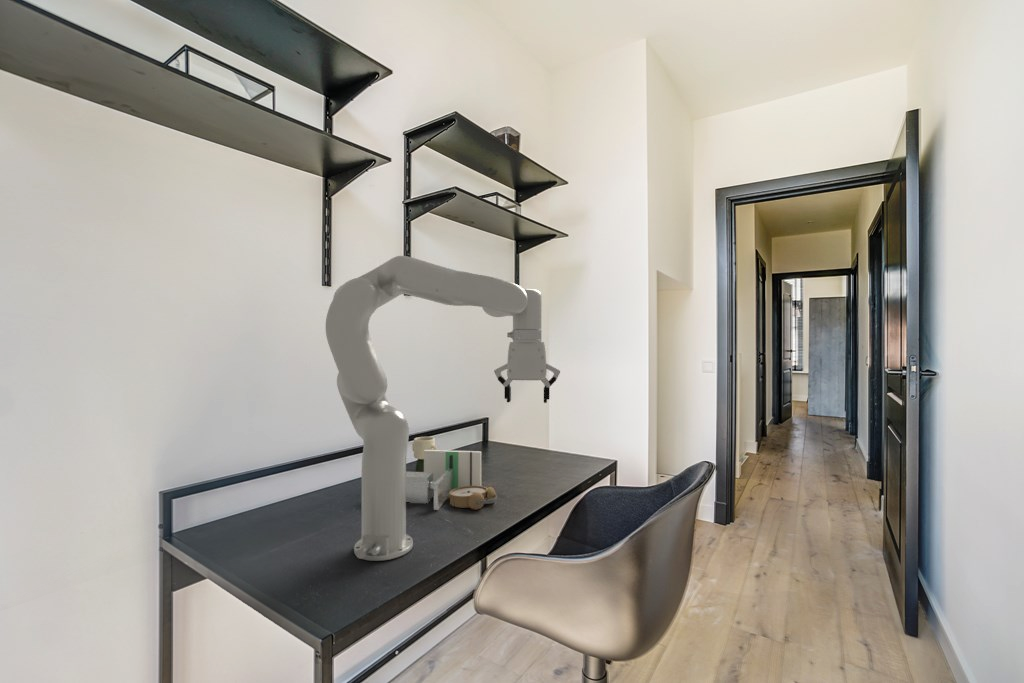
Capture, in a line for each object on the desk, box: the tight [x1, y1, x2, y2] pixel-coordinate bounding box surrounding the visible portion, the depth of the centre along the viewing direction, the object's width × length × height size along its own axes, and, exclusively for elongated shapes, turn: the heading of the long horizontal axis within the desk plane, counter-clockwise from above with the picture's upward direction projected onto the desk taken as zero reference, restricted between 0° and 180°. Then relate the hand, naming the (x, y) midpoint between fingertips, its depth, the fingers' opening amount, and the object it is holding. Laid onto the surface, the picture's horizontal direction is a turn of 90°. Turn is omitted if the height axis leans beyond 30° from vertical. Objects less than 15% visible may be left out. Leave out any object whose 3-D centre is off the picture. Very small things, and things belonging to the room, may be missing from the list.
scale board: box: [424, 449, 482, 489], centre depth 144 cm, size 1×18×12 cm, turn 83°
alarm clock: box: [446, 485, 498, 511], centre depth 132 cm, size 11×5×15 cm
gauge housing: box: [406, 471, 434, 504], centre depth 135 cm, size 6×13×7 cm, turn 83°
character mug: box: [411, 436, 438, 472], centre depth 158 cm, size 11×7×13 cm, turn 57°
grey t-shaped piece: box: [429, 455, 453, 511], centre depth 135 cm, size 17×11×11 cm, turn 173°
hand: (527, 402), depth 121 cm, fingers open, 9 cm apart
